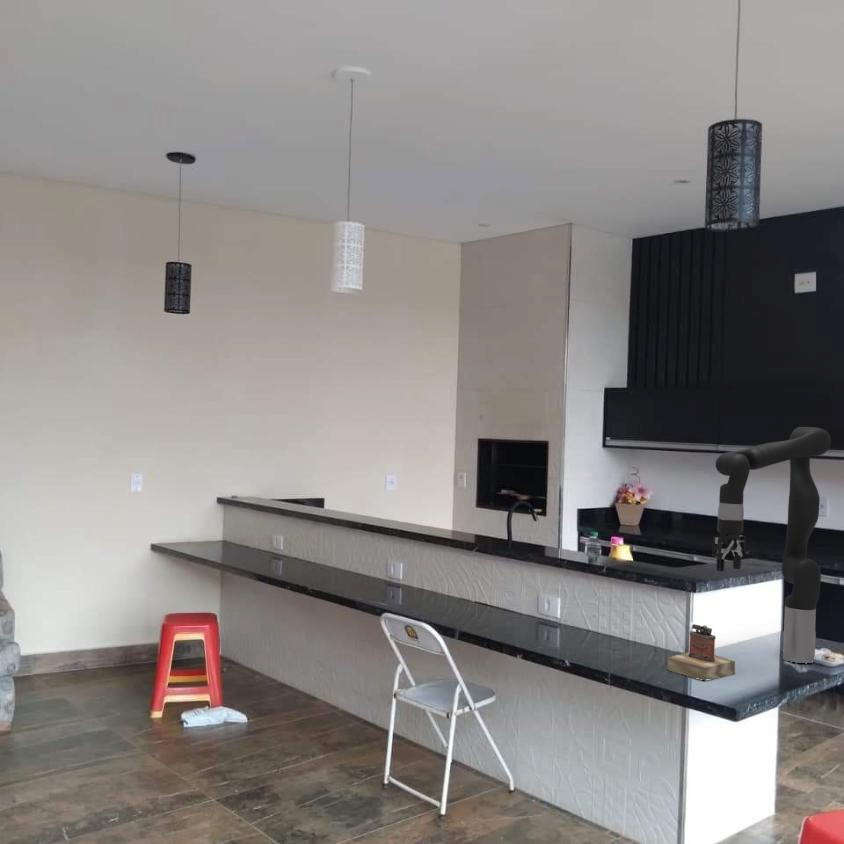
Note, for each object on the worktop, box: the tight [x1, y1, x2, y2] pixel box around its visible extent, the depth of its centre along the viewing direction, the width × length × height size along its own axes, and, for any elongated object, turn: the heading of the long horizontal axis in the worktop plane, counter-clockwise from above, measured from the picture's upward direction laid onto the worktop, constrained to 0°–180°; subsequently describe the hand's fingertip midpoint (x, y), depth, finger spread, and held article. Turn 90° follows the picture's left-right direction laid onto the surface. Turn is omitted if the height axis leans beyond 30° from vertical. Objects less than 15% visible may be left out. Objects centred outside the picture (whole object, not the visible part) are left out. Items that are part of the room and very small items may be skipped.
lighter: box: [688, 623, 717, 662], centre depth 270 cm, size 8×3×10 cm, turn 46°
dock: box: [667, 652, 736, 680], centre depth 270 cm, size 15×13×4 cm
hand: (728, 569), depth 277 cm, fingers open, 8 cm apart
